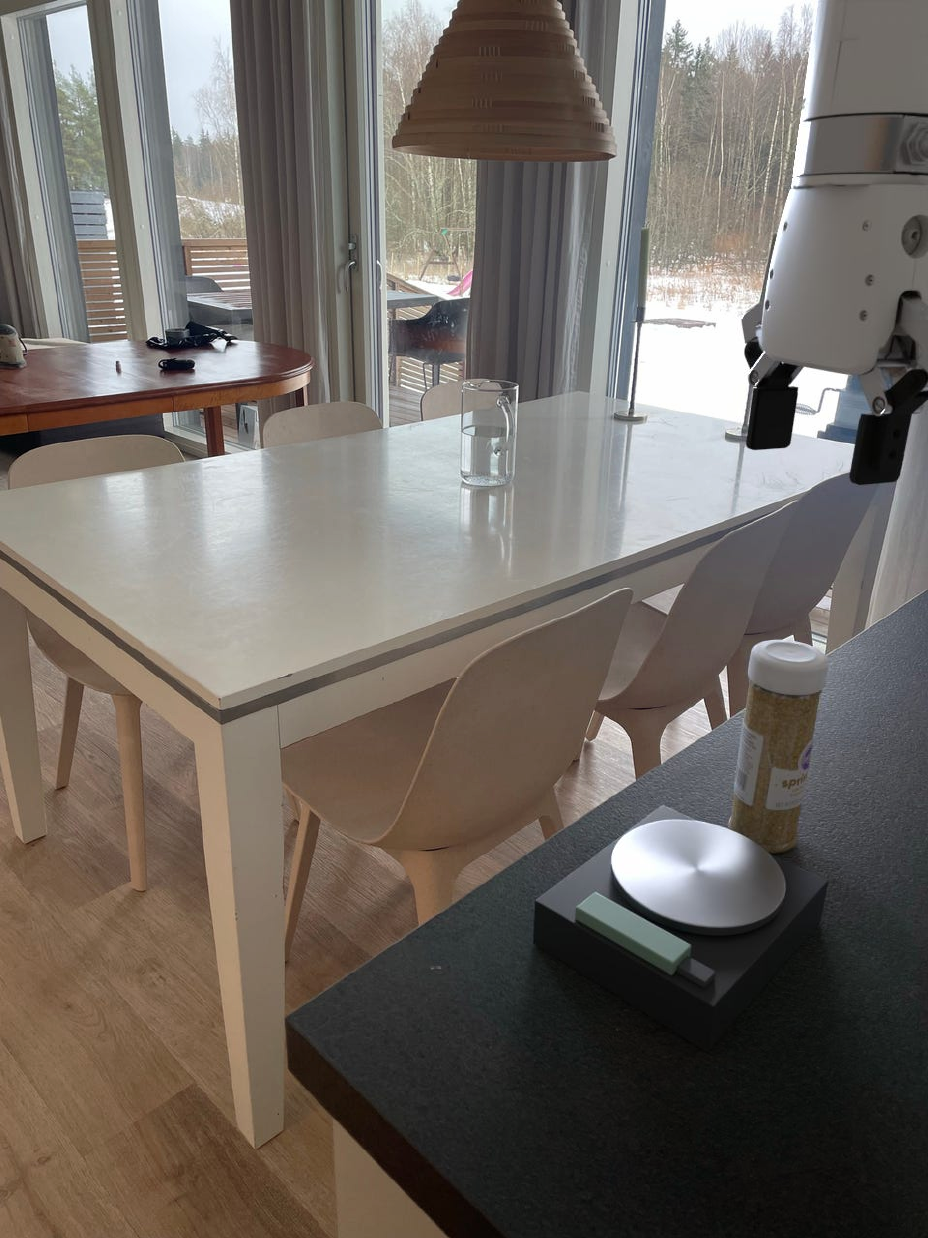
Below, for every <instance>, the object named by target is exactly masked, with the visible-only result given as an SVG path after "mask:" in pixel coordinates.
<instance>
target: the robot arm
mask: <svg viewBox="0 0 928 1238" xmlns="http://www.w3.org/2000/svg"><path fill="white" fill-rule="evenodd" d="M806 70H807V71H806V78H805V85H804V93H803V99H802V107H801V114H800V124H799V130H798V137H797V145H796V151H795V159H794V166H793V174H792V177H793V178H792V179H791V189H789V192H788V195H787V198H786V201H785V204H784V207H783V212H782V214H781V215H782V216H781V219H780V223H779V227H778V231H777V235H776V239H775V243H774V247H773V252H772V256H771V262H770V266H769V272H768V276H767V277H768V278H767V282H766V289H765V293H764V294H765V296H764V299H762V300H761V301H758V303H756V304H755V305H753V306H751V307H750V308H749V309H748V310H746V311H744V313H743V314H742V316H741V319H740V320H741V327H742V335H743V339H744V344H745V346H744V350H743V355H744V358H745V360H746V363H747V365H748V367H749V372H748V375H747V380H748V385H749V386H750V387H752V392H751V393H752V394H751V402H750V409H749V416H748V417H749V418H748V426H747V433H746V440H745V446H746V448H747V449H749V450H752V451H763V450H777V449H786V448H788V447H789V446H790V445H791V443H792V437H793V430H794V423H795V416H796V409H797V403H798V395H799V386H795V385H792V383H793V382H794V381H795V379H796V378H797V377H798V376H799V374H800V373H801V371H802V370H803V369H804V368H807V369H808V368H809V369H814V370H819V371H824V372H829V373H834V374H835V373H836V374H840V375H841V374H842V375H847V376H857V377H858V380H859V382H860V383H859V384H860V386H861V388H862V391H863V393H864V397H865V399H866V401H867V404H868V406H869V409H870V411H871V412H867V413H866V412H865V413H860V417H859V419H858V424H857V429H856V434H855V435H856V436H855V441H854V447H853V453H852V458H851V463H850V470H849V475H848V476H849V481H850V482H851V483H852V484H855V485H858V486H866V485H876V484H877V485H879V484H887V483H895V482H897V481H898V480H899V479H900V476H901V473H902V472H901V471H902V467H903V462H904V456H905V453H906V448H907V442H908V438H909V437H908V436H909V431H910V427H911V422H912V418H913V417H912V416H913V415H919V414H921V413H922V411H923V410H924V409H925V405H926V402H927V401H928V0H816V4H815V12H814V20H813V28H812V35H811V40H810V50H809V56H808V64H807V69H806ZM886 379H890V382H891V385H892V386H891V387H889V385H888V381H887V380H886Z"/></svg>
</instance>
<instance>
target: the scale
mask: <svg viewBox="0 0 928 1238" xmlns="http://www.w3.org/2000/svg"><path fill="white" fill-rule="evenodd" d="M666 820H690V821H698V820H696V819H694V818H692V817H690V816H688V815H686V814H684V813H682V812H679V811H677V810H675V809H673V808H670V807H668V806H666V805H663V804H662V805H660V806H659V807H657V808H656V809H655V810H654V811H652V812H651V813H649V814H648V815H647V816H646V817H645V818H643V819H641V820H640V821H638V823H636V824H635V825H633V826H632V827H631V828H630V829H628V830H627V831H626V832H624V833H623V834H622V835H620V836H619V837H618V838H617V839H615V840H614V841H612V842H611V843H609V844H608V845H607V846H606V847H605V848H603V849H601V850H600V851H599V852H598V853H596V854H595V855H594V856H592V857H591V858H590V859H588V860H587V861H586V862H584V863H583V864H581V865H580V866H578V868H576V869H575V870H574V871H572V872H571V873H570V874H568V875H567V876H566V877H564V878H563V879H561V881H559V882H557V883H556V884H555V885H554V886H553V887H551V888H550V889H548V890H547V891H546V892H544V893H543V894H542V895H541V896H539V897H538V898H536V899H535V900H534V910H533V911H534V913H533V915H534V916H533V931H532V933H533V935H532V938H533V939H532V943H533V944H534V945H535V946H536V947H538V948H539V949H542V950H543V951H545V952H546V953H547V954H549V955H550V956H552V957H554V958H555V959H557V960H559V961H561V962H562V963H564V964H565V965H567V966H568V967H570V968H571V969H573V970H575V971H576V972H578V973H579V974H581V975H583V976H584V977H586V978H587V979H589V980H590V981H592V982H594V983H596V984H597V985H599V986H600V987H602V988H603V989H605V990H607V991H608V992H610V993H611V994H613V995H614V996H616V997H617V998H619V999H621V1000H622V1001H623V1002H625V1003H627V1004H628V1005H630V1006H632V1007H633V1008H635V1009H636V1010H638V1011H640V1012H641V1013H643V1014H644V1015H646V1016H648V1017H649V1018H651V1019H653V1021H656V1022H657V1023H659V1024H660V1025H662V1026H663V1027H665V1028H667V1029H669V1030H670V1031H672V1032H673V1033H675V1034H676V1035H677V1036H680V1037H681V1038H682V1039H684V1040H686V1041H687V1042H689V1043H691V1044H692V1045H694V1046H695V1047H697V1048H698V1049H699V1050H701V1051H703V1052H705V1053H708V1052H710V1050H712V1048H713V1047H714V1046H715V1045H716V1044H717V1042H718V1041H719V1040H720V1039H721V1038H722V1036H723V1035H724V1034H725V1033H726V1032H727V1031H728V1029H729V1028H730V1027H731V1026H732V1025H733V1024H734V1022H735V1021H736V1020H737V1019H738V1018H739V1017H740V1016H741V1014H742V1013H743V1012H744V1011H745V1010H746V1009H747V1008H748V1007H749V1005H750V1004H751V1003H752V1002H753V1001H754V999H756V997H757V996H758V995H759V994H760V993H761V992H762V990H763V989H764V988H765V987H766V985H767V984H768V983H769V982H770V981H771V980H772V979H773V978H774V977H775V975H776V974H777V973H778V972H779V971H780V970H781V968H782V967H783V966H784V965H785V963H787V961H788V960H789V959H790V958H791V957H792V956H793V954H795V952H796V951H797V950H798V949H799V948H800V947H801V945H802V944H803V943H804V942H805V941H806V939H807V938H808V937H809V936H810V935H811V934H812V933H813V931H814V930H815V929H816V928H817V927H818V926H819V925H820V923H821V922H822V916H823V912H824V905H825V902H826V901H825V900H826V895H827V891H828V885H829V880H828V879H826V878H824V877H822V876H819V875H817V874H815V873H813V872H810V871H808V870H806V869H803V868H801V867H800V866H797V865H795V864H793V863H791V862H789V861H787V860H784V859H782V858H780V857H778V856H775V855H774V854H772V853H769V854H770V855H771V856H772V857H773V858H774V860H775V861H776V862H777V864H778V865H779V867H780V868H781V870H782V873H783V875H784V879H785V883H786V891H785V897H784V901H783V905H782V907H781V909H780V911H779V912H778V913H777V915H776V916H775V917H774V918H773V919H772V920H771V921H769V922H768V923H766V924H765V925H763V926H762V927H759V928H757V929H755V930H752V931H749V932H745V933H741V934H735V935H724V936H712V935H701V934H694V933H689V932H684V931H680V930H677V929H673V928H670V927H668V926H665V925H663V924H660V923H658V922H656V921H654V920H652V919H650V918H648V917H647V916H645V915H643V914H642V913H640V912H639V911H637V910H636V909H635V908H634V907H632V906H631V905H630V904H629V903H628V902H627V901H626V900H625V899H624V898H623V897H622V895H621V894H620V893H619V891H618V890H617V888H616V886H615V884H614V882H613V879H612V876H611V857H612V853H613V850H614V848H615V846H616V844H617V843H618V842H619V840H620V839H621V838H622V837H623V836H624V835H626V834H627V833H628V832H630V831H632V830H633V829H635V828H638V827H640V826H643V825H646V824H649V823H653V822H658V821H666Z"/></svg>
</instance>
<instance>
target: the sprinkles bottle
mask: <svg viewBox="0 0 928 1238" xmlns="http://www.w3.org/2000/svg"><path fill="white" fill-rule="evenodd" d="M828 671H829V658H828V656H827V655H826V654H825V652H823V651H822V650H820V649H819V648H817V647H815V646H813V645H810V644H807V643H804V642H801V641H795V640H787V639H770V640H764V641H760V642H758V643H756V644H755V645H754V646H753V647H752V648H751V652H750V656H749V662H748V670H747V676H748V682H749V683H748V684H749V685H748V691H747V698H746V705H745V712H744V716H743V719H742V725H741V733H740V739H739V748H738V755H737V761H736V769H735V776H734V784H733V790H734V794H733V803H732V807H731V808H732V809H731V816H730V818H729V819H728V822H727V829H730V830H732V831H734V832H737V833H739V834H741V835H743V836H745V837H747V838H749V839H750V840H752V841H754V842H755V843H757V844H758V845H759V846H761V847H762V848H764V849H765V850H766V851H767V852H768V853H769V854H781V853H785V852H787V851H789V850H791V849H792V848H794V847H795V846H796V845H797V843H798V838H799V832H798V828H799V823H800V816H801V809H802V805H803V802H804V798H805V793H806V785H807V779H808V774H809V770H810V769H809V768H810V762H811V757H812V750H813V744H814V732H815V728H816V727H815V726H816V721H817V714H818V708H819V703H820V695H821V694H822V691H823V690H824V688H825V686H826V682H827V676H828Z"/></svg>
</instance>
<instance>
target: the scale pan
mask: <svg viewBox="0 0 928 1238" xmlns="http://www.w3.org/2000/svg"><path fill="white" fill-rule="evenodd" d="M770 854H771V853H768V852H767V851H766V850H765V849H764V848H762V847H761V846H759V845H758V844H757V843H755V842H754V841H752V840H750V839H749V838H747V837H745V836H743V835H741V834H739V833H737V832H734V831H732V830H730V829H728V827H724V826H721V825H717V824H714V823H709V822H703V821H699V820H697V821H690V820H666V821H658V822H653V823H649V824H646V825H643V826H640V827H638V828H635V829H633V830H632V831H630V832H628V833H627V834H626V835H624V836H623V837H622V838H621V839H620V840H619V842H618V843H617V844H616V846H615V848H614V850H613V853H612V857H611V876H612V879H613V882H614V884H615V886H616V888H617V890H618V891H619V893H620V894H621V895H622V897H623V898H624V899H625V900H626V901H627V902H628V903H629V904H630V905H631V906H632V907H634V908H635V909H636V910H637V911H639V912H640V913H642V914H643V915H645V916H647V917H648V918H650V919H652V920H654V921H656V922H658V923H660V924H663V925H665V926H668V927H670V928H673V929H677V930H680V931H684V932H689V933H694V934H701V935H712V936H724V935H735V934H741V933H745V932H749V931H752V930H755V929H757V928H759V927H762V926H763V925H765V924H766V923H768V922H769V921H771V920H772V919H773V918H774V917H775V916H776V915H777V913H778V912H779V911H780V909H781V907H782V905H783V901H784V897H785V891H786V883H785V879H784V875H783V873H782V870H781V868H780V867H779V865H778V864H777V862H776V861H775V860H774V858H773V857H772V856H771V855H772V854H771V855H770Z"/></svg>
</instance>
